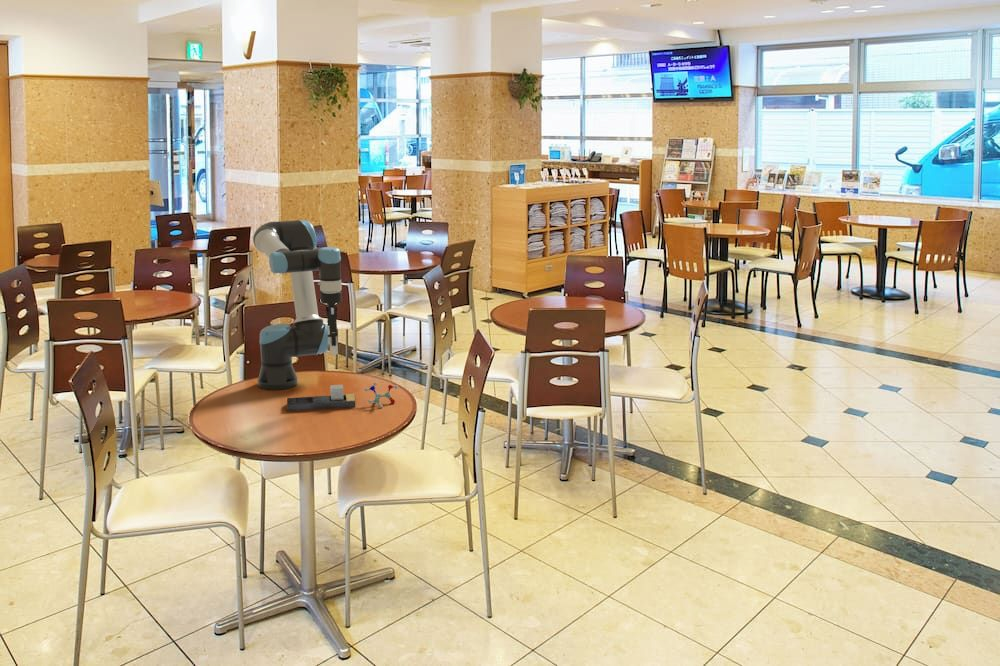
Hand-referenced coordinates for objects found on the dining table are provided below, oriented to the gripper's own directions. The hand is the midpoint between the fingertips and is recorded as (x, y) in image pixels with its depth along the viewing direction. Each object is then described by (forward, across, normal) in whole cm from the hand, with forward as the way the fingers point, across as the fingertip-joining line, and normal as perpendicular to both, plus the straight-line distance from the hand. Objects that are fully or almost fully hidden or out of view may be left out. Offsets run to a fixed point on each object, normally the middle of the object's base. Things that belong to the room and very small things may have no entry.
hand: (333, 349), depth 316 cm
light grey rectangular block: (+21, +1, +1) cm, 21 cm away
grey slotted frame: (+21, +1, -5) cm, 22 cm away
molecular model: (+21, +3, +16) cm, 27 cm away
